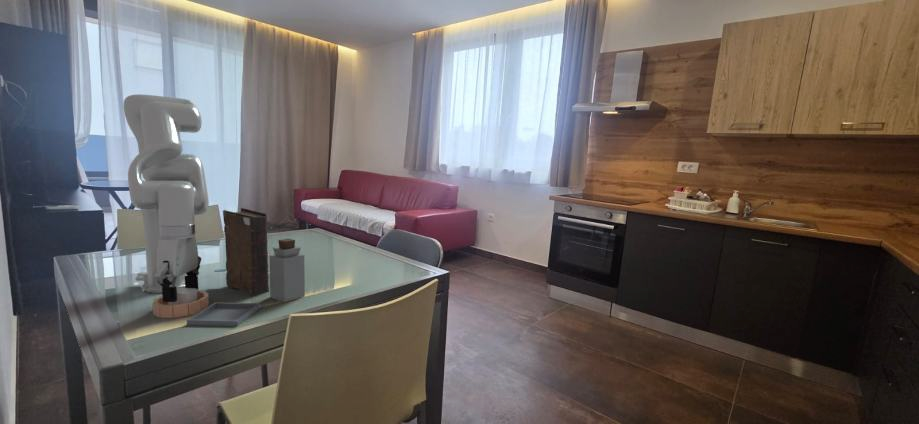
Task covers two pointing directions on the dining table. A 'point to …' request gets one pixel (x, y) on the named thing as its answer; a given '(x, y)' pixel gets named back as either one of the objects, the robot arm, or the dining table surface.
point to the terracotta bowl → (180, 306)
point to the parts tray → (224, 314)
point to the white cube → (185, 296)
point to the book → (246, 251)
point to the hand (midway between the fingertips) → (181, 295)
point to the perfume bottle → (287, 272)
